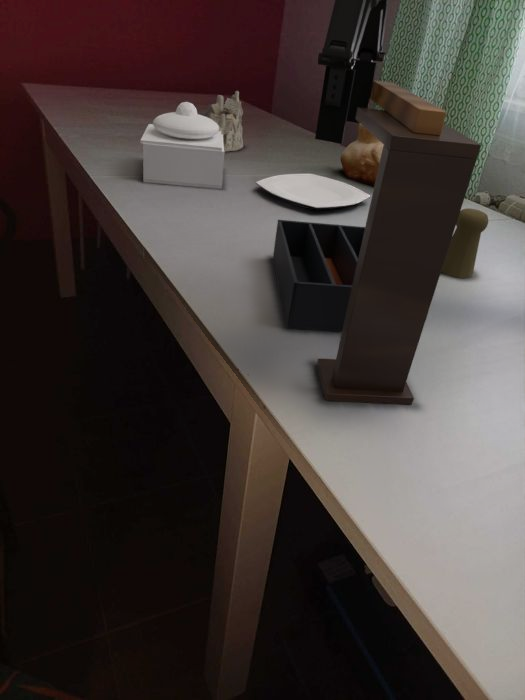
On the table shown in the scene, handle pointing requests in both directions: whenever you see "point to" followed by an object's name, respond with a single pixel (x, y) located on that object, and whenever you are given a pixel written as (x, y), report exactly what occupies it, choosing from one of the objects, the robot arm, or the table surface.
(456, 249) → the cork
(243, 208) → the table surface
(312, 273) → the slot rack
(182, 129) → the butter dish
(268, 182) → the plate
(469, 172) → the shelf stand
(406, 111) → the bar
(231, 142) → the miniature castle sculpture
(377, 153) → the ceramic vessel
